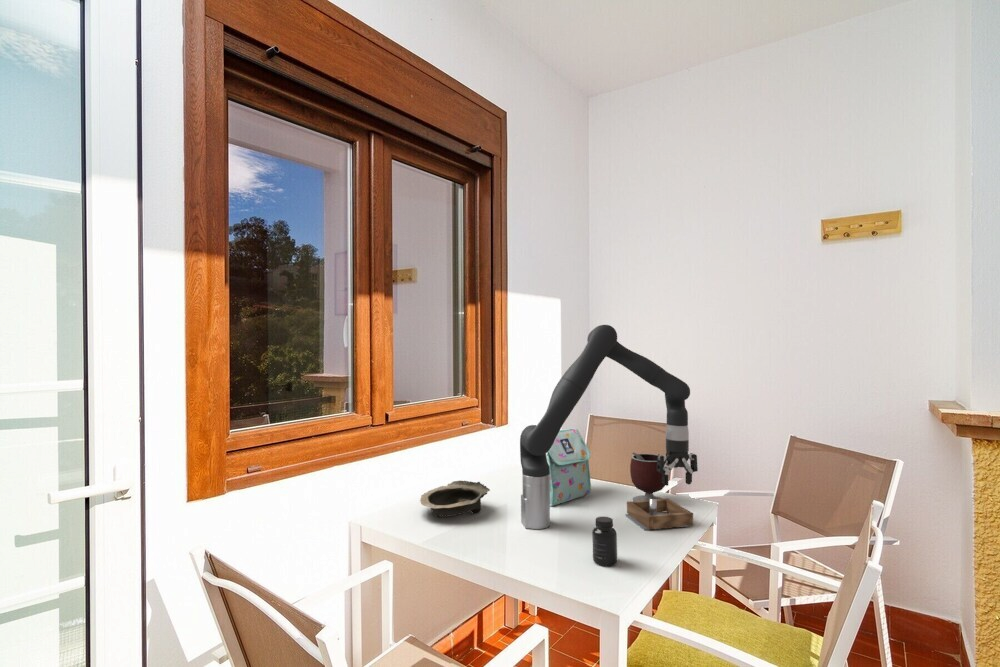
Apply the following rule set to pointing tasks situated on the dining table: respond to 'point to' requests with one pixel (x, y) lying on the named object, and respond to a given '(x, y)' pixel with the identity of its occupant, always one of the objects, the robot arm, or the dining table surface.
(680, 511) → the walnut collar
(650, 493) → the mate gourd
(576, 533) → the dining table surface
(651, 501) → the steel post
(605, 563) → the supplement bottle
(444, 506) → the stone bowl
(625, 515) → the slate plate
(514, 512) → the dining table surface
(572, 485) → the lunch bag
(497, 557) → the dining table surface
